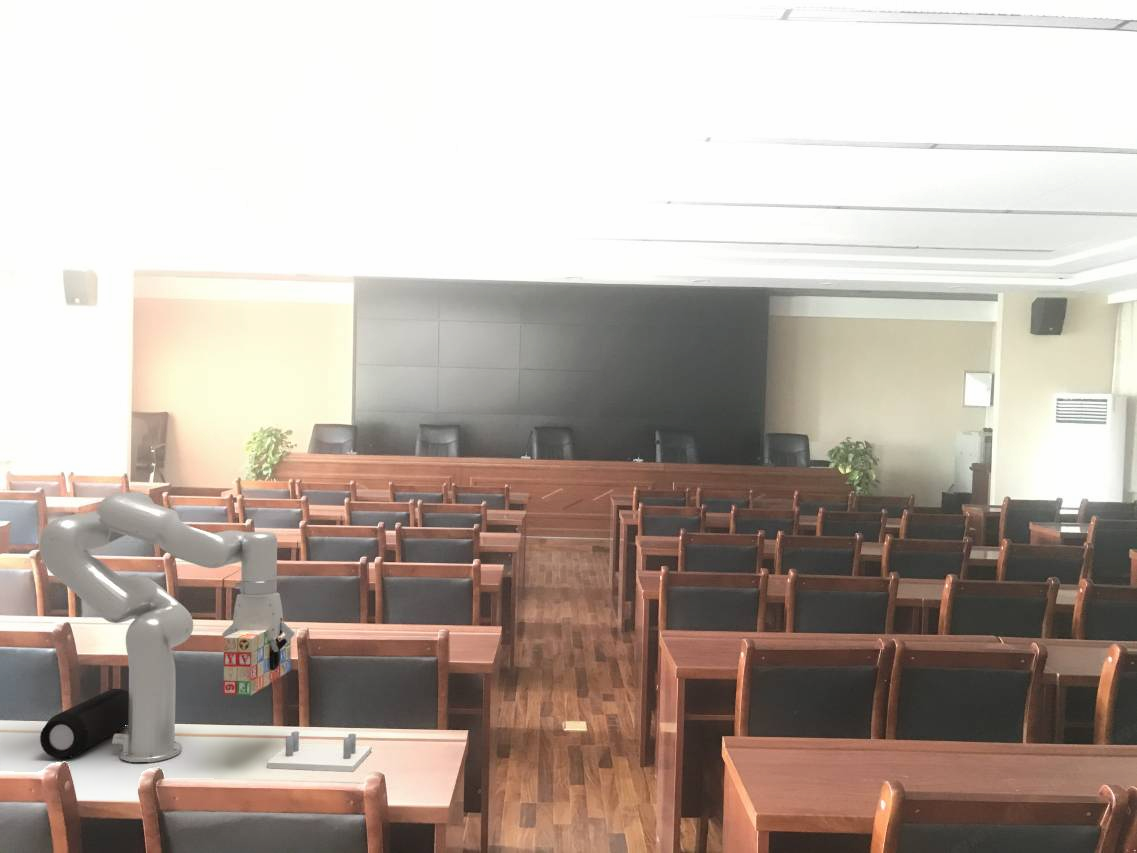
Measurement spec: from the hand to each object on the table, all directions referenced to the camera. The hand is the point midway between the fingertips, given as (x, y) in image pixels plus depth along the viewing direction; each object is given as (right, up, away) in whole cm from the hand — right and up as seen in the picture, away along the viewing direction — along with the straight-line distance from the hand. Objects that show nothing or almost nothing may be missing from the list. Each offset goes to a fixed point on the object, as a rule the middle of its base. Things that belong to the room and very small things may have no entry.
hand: (258, 668), depth 205 cm
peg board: (+14, -20, -2) cm, 24 cm away
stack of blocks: (0, -3, 0) cm, 3 cm away
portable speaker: (-41, -20, +8) cm, 46 cm away
